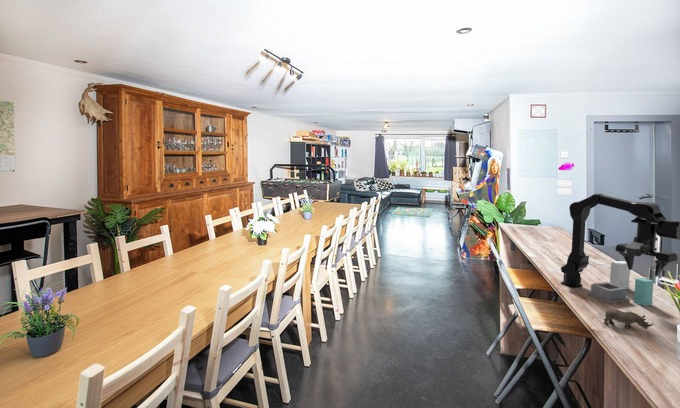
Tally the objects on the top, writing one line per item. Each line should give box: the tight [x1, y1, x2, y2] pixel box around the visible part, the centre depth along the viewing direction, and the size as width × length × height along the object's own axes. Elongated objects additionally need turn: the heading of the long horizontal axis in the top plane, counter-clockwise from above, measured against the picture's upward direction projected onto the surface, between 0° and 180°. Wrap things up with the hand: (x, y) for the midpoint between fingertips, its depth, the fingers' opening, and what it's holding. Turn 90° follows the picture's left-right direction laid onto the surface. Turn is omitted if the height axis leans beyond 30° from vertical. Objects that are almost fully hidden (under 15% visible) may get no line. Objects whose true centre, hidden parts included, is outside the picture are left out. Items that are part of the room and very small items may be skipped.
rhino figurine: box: [603, 308, 654, 330], centre depth 126 cm, size 4×14×6 cm, turn 55°
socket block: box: [587, 281, 630, 304], centre depth 153 cm, size 10×10×5 cm
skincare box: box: [609, 260, 631, 289], centre depth 163 cm, size 6×4×12 cm
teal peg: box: [633, 277, 654, 307], centre depth 145 cm, size 4×4×10 cm
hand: (642, 273), depth 144 cm, fingers open, 9 cm apart
